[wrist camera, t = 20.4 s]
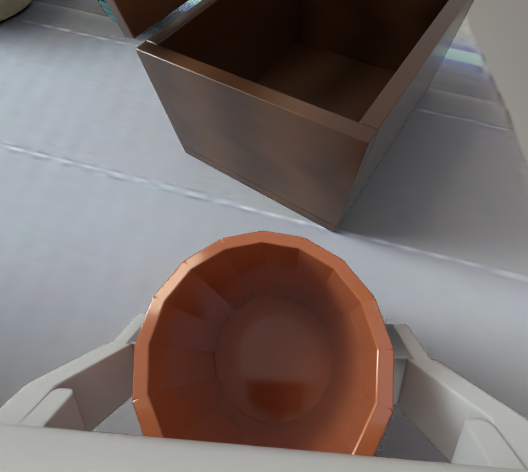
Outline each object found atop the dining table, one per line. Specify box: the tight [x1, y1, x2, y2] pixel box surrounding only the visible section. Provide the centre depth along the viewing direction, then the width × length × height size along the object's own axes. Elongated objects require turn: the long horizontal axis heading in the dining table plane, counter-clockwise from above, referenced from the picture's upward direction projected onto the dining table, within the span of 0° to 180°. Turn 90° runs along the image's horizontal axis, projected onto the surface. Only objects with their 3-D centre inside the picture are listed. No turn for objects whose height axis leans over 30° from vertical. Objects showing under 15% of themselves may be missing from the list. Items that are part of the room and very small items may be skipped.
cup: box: [132, 231, 394, 456], centre depth 10 cm, size 6×6×8 cm
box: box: [136, 0, 474, 232], centre depth 17 cm, size 13×16×7 cm
